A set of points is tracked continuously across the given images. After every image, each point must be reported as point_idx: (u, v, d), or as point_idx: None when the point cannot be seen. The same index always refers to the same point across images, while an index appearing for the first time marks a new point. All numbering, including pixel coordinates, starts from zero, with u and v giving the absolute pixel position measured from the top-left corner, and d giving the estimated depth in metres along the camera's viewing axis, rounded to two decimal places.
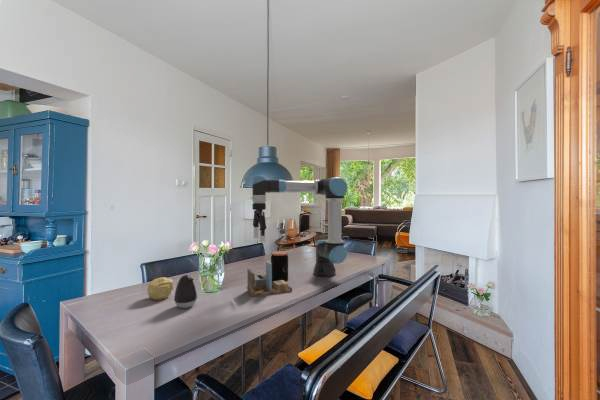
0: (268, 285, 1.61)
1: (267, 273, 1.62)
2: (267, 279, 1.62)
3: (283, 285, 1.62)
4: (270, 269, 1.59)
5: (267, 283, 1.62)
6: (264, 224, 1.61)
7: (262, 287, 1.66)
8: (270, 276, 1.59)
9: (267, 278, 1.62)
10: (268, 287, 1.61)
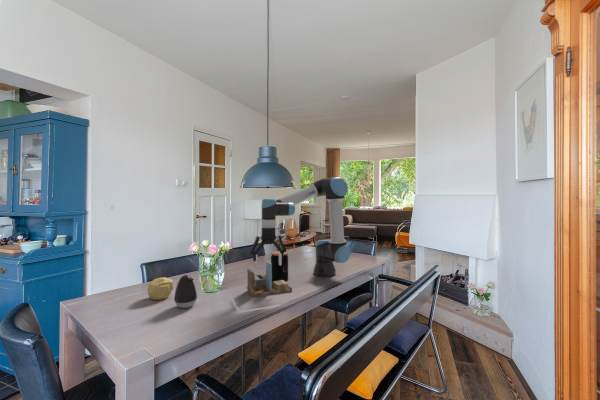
0: (268, 285, 1.61)
1: (267, 273, 1.62)
2: (267, 279, 1.62)
3: (283, 285, 1.62)
4: (270, 269, 1.59)
5: (267, 283, 1.62)
6: (251, 249, 1.58)
7: (262, 287, 1.66)
8: (270, 276, 1.59)
9: (267, 278, 1.62)
10: (268, 287, 1.61)
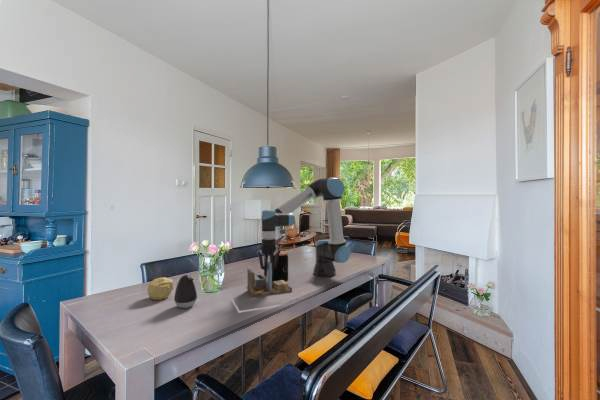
0: (268, 285, 1.61)
1: None
2: None
3: (283, 285, 1.62)
4: (270, 269, 1.59)
5: (267, 283, 1.62)
6: (260, 265, 1.60)
7: (262, 287, 1.66)
8: (270, 276, 1.59)
9: None
10: (268, 287, 1.61)
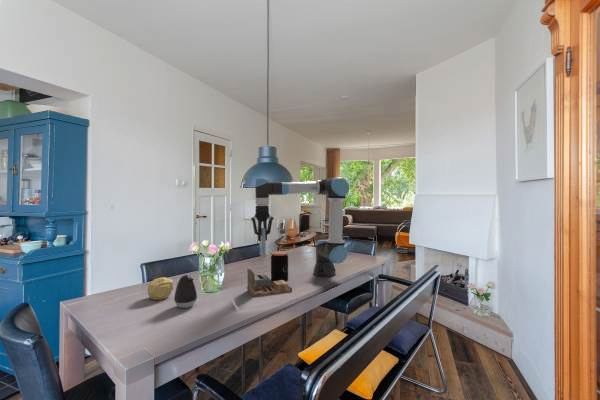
0: (262, 250, 1.68)
1: None
2: None
3: (283, 285, 1.62)
4: (264, 234, 1.66)
5: (261, 248, 1.69)
6: (254, 230, 1.67)
7: (262, 287, 1.66)
8: (264, 241, 1.66)
9: None
10: (262, 252, 1.68)
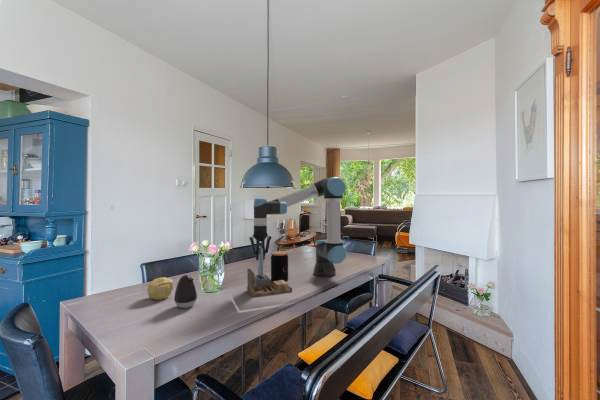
0: (260, 269, 1.71)
1: None
2: None
3: (283, 285, 1.62)
4: (261, 254, 1.69)
5: (259, 267, 1.72)
6: (252, 250, 1.70)
7: (262, 287, 1.66)
8: (261, 260, 1.69)
9: None
10: (259, 271, 1.71)
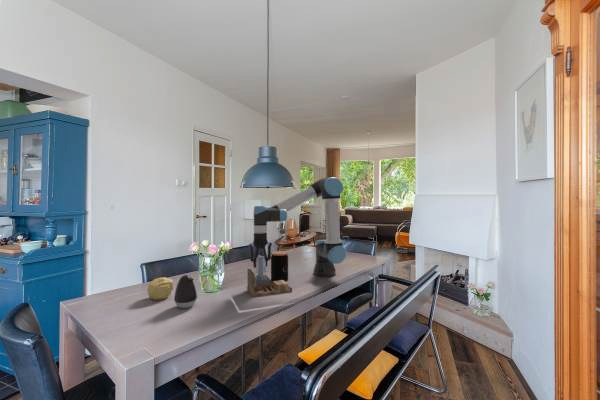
0: (260, 278, 1.71)
1: (259, 267, 1.72)
2: (259, 272, 1.72)
3: (283, 285, 1.62)
4: (261, 263, 1.69)
5: (259, 276, 1.72)
6: (250, 257, 1.69)
7: (262, 287, 1.66)
8: (261, 269, 1.69)
9: (259, 271, 1.72)
10: None
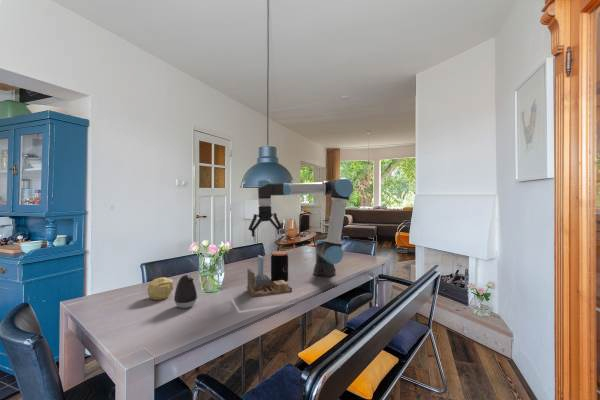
0: (260, 278, 1.71)
1: (259, 267, 1.72)
2: (259, 272, 1.72)
3: (283, 285, 1.62)
4: (261, 263, 1.69)
5: (259, 276, 1.72)
6: (250, 226, 1.73)
7: (262, 287, 1.66)
8: (261, 269, 1.69)
9: (259, 271, 1.72)
10: None
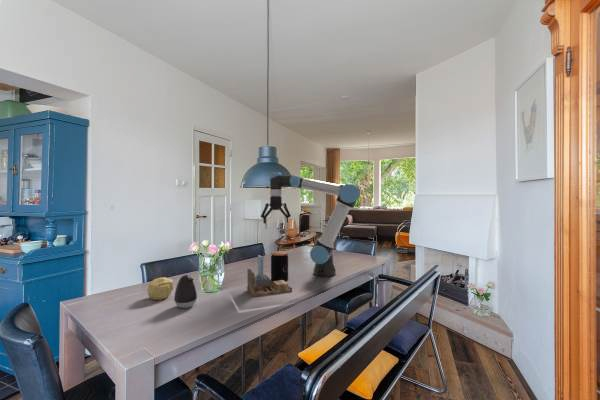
0: (260, 278, 1.71)
1: (259, 267, 1.72)
2: (259, 272, 1.72)
3: (283, 285, 1.62)
4: (261, 263, 1.69)
5: (259, 276, 1.72)
6: (262, 213, 1.92)
7: (262, 287, 1.66)
8: (261, 269, 1.69)
9: (259, 271, 1.72)
10: None
